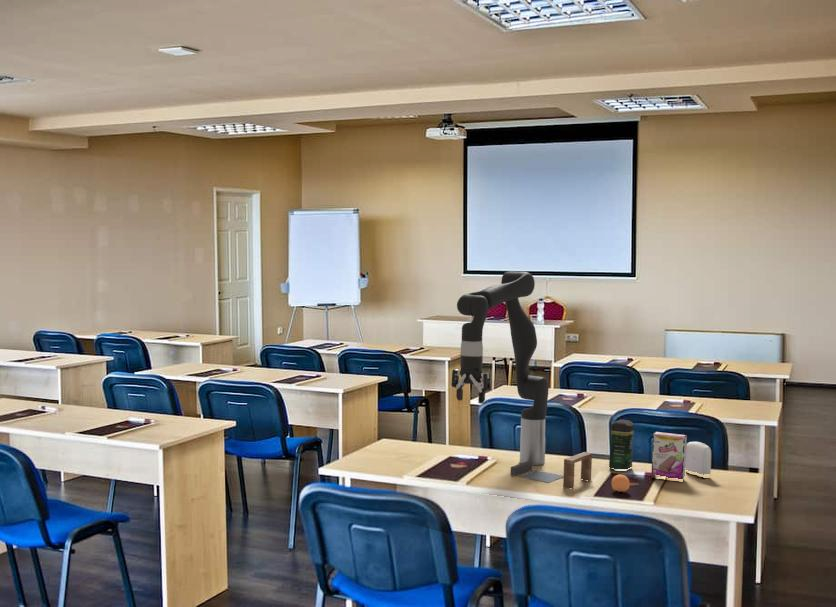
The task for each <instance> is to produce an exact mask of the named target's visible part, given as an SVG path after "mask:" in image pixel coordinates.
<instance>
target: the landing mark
mask: <svg viewBox="0 0 836 607" xmlns="http://www.w3.org/2000/svg"><path fill="white" fill-rule="evenodd" d="M563 476H564V474H563V475H562V474H557V473H552V472H546V471H542V470H531V471H529V472H526V473H523V474H520V475H518V478H522V479H528V480H533V481H537V482H543V483H547V484H550V483H552V482H555V481H557V480H559V478H560V479H563V478H562V477H563Z"/></svg>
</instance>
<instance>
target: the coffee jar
mask: <svg viewBox="0 0 836 607" xmlns="http://www.w3.org/2000/svg"><path fill="white" fill-rule="evenodd" d="M634 429H635V424H634V423H633V422H632V421H631V420H630V419H623V418H622V419H621V418H620V419H619V420H616V421H614V422H612V423H611V424H610V443H609V444H610V446H609V447H610V448H609V463H608V468H609V467H610V468H614V469H628V468H630V467H632V468H633V451H634V450H633V449H634V448H633V446H634V445H633V443H634V434H635V432H634V431H635V430H634Z"/></svg>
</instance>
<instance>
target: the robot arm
mask: <svg viewBox="0 0 836 607" xmlns="http://www.w3.org/2000/svg"><path fill="white" fill-rule="evenodd" d="M535 283H536V282H535V278H534V276H533V274H531V273H530V272H528V271H527V272H526V271H515V270H513V271H511V270H510V271H505V272H504V273H503V274H502V276H501V282H500V284H495V285H491V286H489V287H486V288H483V289H481V290H479V291H478V290H477V291H474V292H469V293H466V294H463V295H461V296H460V297H459V298H458V300H457V302H456V303H457V304H456V309H457V311H458V312H459V314H461V315H463V316H468V317H470V316H471V317H473V318H472V320H471V321H470V322H466V323H463V324H462V326H461V343H460V354H459V355H460V358H459V363H460V364H459V366H460V369H459V368H455V369H453V370H452V371H451V372H452V374H451V384H450V385H451V387H452V388H455V389H456V390H455V391H456V393H455V394H456V396H455V397H456V399H457V401H463V399H464V398H463V395H464V390H463V388H464V386H465V385H468V384H470V385H473V386H474V387H475V388H477V390H478V398H477V399H478V404H484V403H485V401H486V392H488V391H490V390H491V373H490V372H483V370H482V369H483V358H484V357H483V356H484V353H483V352H484V346H483V331H484V330H483V329H484V326H485V321H486V318H487V315H488V312H489V310H490V309H492V308H494V307H497V306H499V305H501V304H503V303H505V307H506V312H507V317H508V323H509V328H510V330H509V331H510V338H511V343H512V349H513V354H514V361H515V374H516V389H517V393H518V396H519V397H520V398H521V399H523V400H529V401H533V404H532V406H531V407H528V408H527V407H526V408H524V409H522V410H521V412H520V413H521V414H520V440H519V442H520V447H519V462H520V463H519V464H521V463H524V462H527V461H529V462H532V466H541V465H544V463H545V461H546V460H545V458H546V416H547V411H548V401H549V399H548V398H549V380H547V378H546V377H544V376H537V375H531V374H530V366H529V365H530V362H531V359H532V357H533V356H534V353H535V351H536V349H537V346H538V339H537V332H536V326H535V325H534V323H533V322H532V320H531V318H530V317H529V316H528V315H527V313H526V312H525V311H524V310H523V308H522V306H521V302H520V300H519V298H525V297H529V296H530V295H532V293H533V292H534V290H535V285H536V284H535ZM460 377H461V378H460ZM482 380H483V381H482Z"/></svg>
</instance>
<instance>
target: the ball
mask: <svg viewBox="0 0 836 607" xmlns="http://www.w3.org/2000/svg"><path fill="white" fill-rule="evenodd" d="M630 484H631V483H630V479H629V478H628V477H627V476H626V475H624V474H620V473H619V474H617V475H614V476H613V477H612V479H611V488H612V489H613V490H614V491H615V490H617V491H625V492H627V491H628V490H629V488H630ZM626 490H627V491H626Z"/></svg>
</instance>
